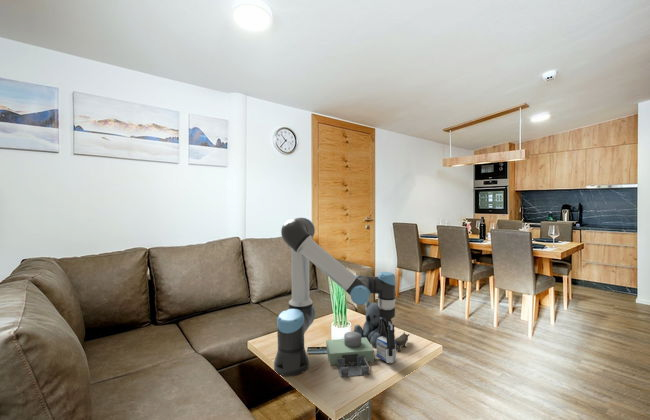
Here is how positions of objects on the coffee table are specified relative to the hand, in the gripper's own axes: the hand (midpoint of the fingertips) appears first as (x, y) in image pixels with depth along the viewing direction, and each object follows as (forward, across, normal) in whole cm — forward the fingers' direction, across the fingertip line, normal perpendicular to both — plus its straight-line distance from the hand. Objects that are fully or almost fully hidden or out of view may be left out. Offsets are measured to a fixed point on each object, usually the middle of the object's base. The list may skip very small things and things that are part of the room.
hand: (386, 356), depth 134 cm
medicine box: (+1, 0, 0) cm, 1 cm away
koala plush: (+2, +23, -2) cm, 23 cm away
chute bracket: (+2, -5, +16) cm, 17 cm away
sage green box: (+2, +7, +16) cm, 17 cm away
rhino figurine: (+2, +12, -13) cm, 17 cm away
